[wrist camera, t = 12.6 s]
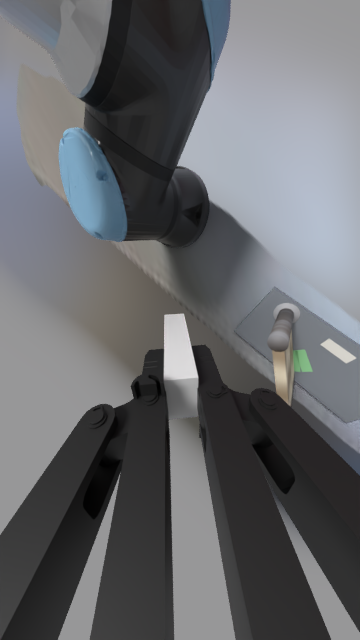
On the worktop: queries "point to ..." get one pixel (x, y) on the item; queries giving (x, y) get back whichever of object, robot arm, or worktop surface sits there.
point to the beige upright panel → (283, 354)
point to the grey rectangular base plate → (311, 353)
